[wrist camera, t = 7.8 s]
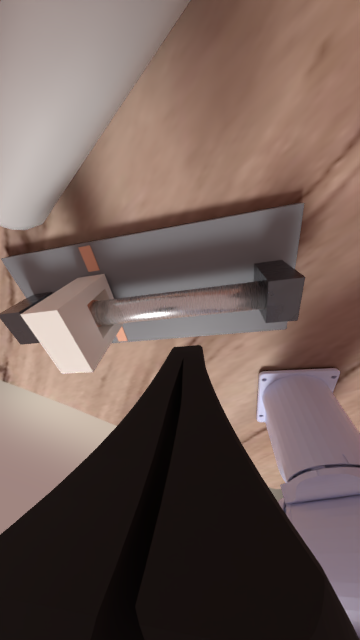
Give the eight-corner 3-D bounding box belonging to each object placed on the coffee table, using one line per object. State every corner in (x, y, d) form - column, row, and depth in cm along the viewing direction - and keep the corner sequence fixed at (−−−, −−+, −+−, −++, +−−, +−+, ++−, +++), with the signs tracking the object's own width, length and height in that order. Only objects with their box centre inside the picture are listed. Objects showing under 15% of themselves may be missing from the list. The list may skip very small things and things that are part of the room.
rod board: (283, 324, 18) (305, 358, 14) (62, 342, 22) (33, 373, 18) (299, 202, 13) (340, 204, 9) (8, 256, 17) (-48, 273, 13)
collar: (123, 323, 19) (93, 372, 13) (100, 325, 19) (61, 373, 14) (104, 273, 16) (57, 310, 11) (77, 277, 16) (20, 314, 11)
